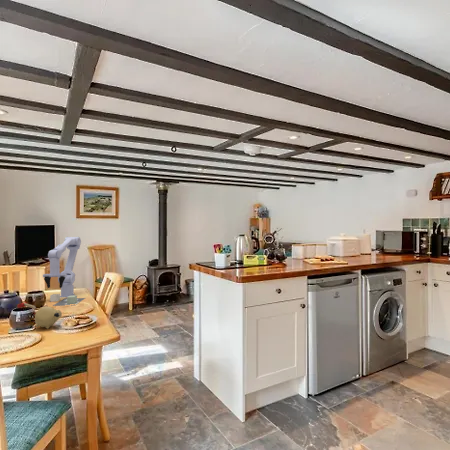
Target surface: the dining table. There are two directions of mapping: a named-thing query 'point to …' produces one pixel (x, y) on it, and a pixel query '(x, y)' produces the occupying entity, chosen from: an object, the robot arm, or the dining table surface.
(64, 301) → the mat
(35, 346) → the dining table surface
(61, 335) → the dining table surface
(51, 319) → the toy pig
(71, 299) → the base block
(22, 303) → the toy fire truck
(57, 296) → the top block
